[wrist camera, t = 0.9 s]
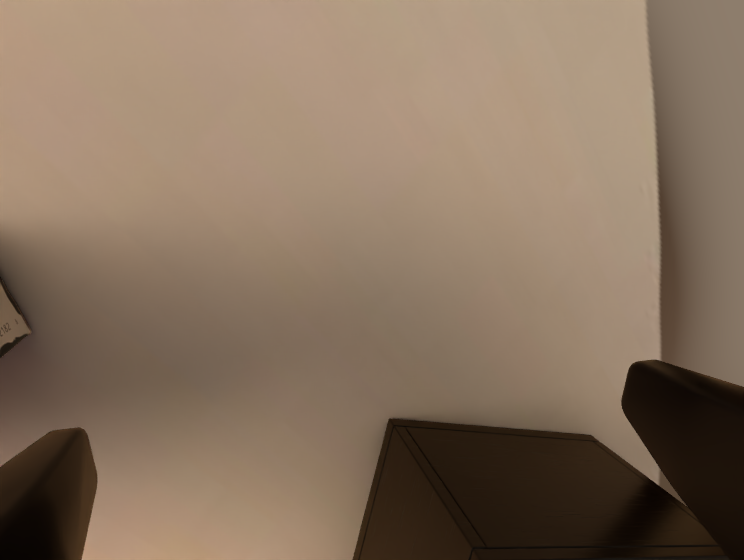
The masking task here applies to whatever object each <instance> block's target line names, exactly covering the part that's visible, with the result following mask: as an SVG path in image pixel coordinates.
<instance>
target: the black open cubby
mask: <svg viewBox="0 0 744 560" xmlns="http://www.w3.org/2000/svg"><path fill="white" fill-rule="evenodd" d="M353 560H729V558H728V557H727V556H726V555H725V553H724V552H723V551H722V550H721V548H720V547H719V546H718V544H717V543H716V542H715V541H714V539H713V538H712V537H711V536H710V534H709V533H708V532H707V531H706V529H705V528H704V527H703V525H702V524H701V523H700V522H699V520H698V519H697V518H696V517H695V515H694V514H693V513H692V512H691V510H690V509H689V508H688V507H687V506H685V505H684V504H683V503H681V502H680V501H678V500H677V499H676V498H675V497H673V496H672V495H671V494H669V493H668V492H666V491H665V490H664V489H663V488H661V487H660V486H658V485H657V484H656V483H654V482H653V481H652V480H650V479H649V478H648V477H646V476H645V475H644V474H642V473H641V472H640V471H638V470H637V469H636V468H634V467H633V466H632V465H630V464H629V463H628V462H626V461H625V460H624V459H622V458H621V457H620V456H618V455H617V454H616V453H614V452H613V451H612V450H610V449H609V448H608V447H606V446H605V445H604V444H602V443H601V442H599V441H598V440H597V439H595V438H594V437H593V436H591V435H584V434H571V433H559V432H547V431H535V430H523V429H511V428H499V427H487V426H475V425H463V424H451V423H439V422H427V421H415V420H403V419H391V418H390V419H389V420H388V424H387V428H386V432H385V436H384V440H383V444H382V448H381V452H380V455H379V459H378V463H377V467H376V471H375V475H374V479H373V483H372V486H371V490H370V494H369V498H368V502H367V506H366V510H365V514H364V517H363V521H362V525H361V529H360V533H359V537H358V541H357V545H356V549H355V552H354V556H353Z"/></svg>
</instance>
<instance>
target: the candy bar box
mask: <svg viewBox="0 0 744 560" xmlns="http://www.w3.org/2000/svg"><path fill="white" fill-rule="evenodd" d="M30 334H31V329H30V327H29V326H28V324H27V322H26V320H25V318H24V316H23V315H22V313H21V311H20V309H19V308H18V306H17V304H16V302H15V301H14V299H13V298H12V297H11V295H10V294H9V292H8V290H7V288H6V286H5V284H4V283H3V281H2V279H1V277H0V358H1V357H2V356H4V355H5V354H6V353H7V352H8V351H10V350H11V349H12V348H13V347H14V346H15V345H16V344H18V343H19V342H20V341H21V340H22V339H23V338H25V337H26V336H28V335H30Z"/></svg>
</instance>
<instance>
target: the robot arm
mask: <svg viewBox="0 0 744 560" xmlns="http://www.w3.org/2000/svg"><path fill="white" fill-rule="evenodd" d="M621 405H622V409H623V412H624V414H625V416H626V417H627V419H628V420H629V422H630V423H631V425H632V427H633V428H634V430H635V431H636V433H637V434H638V436H639V437H640V439H641V440H642V442H643V443H644V445H645V446H646V448H647V449H648V451H649V452H650V454H651V455H652V457H653V458H654V460H655V461H656V463H657V464H658V466H659V468H660V469H661V471H662V472H663V474H664V475H665V476H666V478H667V479H668V481H669V482H670V484H671V485H672V487H673V488H674V489H675V491H676V492H677V493H678V495H679V496H680V497H681V499H682V500H683V501H684V502H685V504H686V505H687V506H688V508H689V509H690V510H691V512H692V513H693V514H694V515H695V517H696V518H697V519H698V520H699V522H700V523H701V524H702V525H703V527H704V528H705V529H706V531H707V532H708V533H709V534H710V536H711V537H712V538H713V539H714V541H715V542H716V543H717V544H718V546H719V547H720V548H721V550H722V551H723V552H724V553H725V555H726V556H727V557H728V558H729V560H744V387H742V386H739V385H735V384H732V383H729V382H726V381H722V380H719V379H716V378H713V377H710V376H707V375H703V374H700V373H697V372H694V371H691V370H687V369H684V368H681V367H678V366H675V365H672V364H668V363H665V362H662V361H659V360H646V361H637V362H635V363H633V364H632V365H631V366H630V367H629V370H628V374H627V378H626V382H625V387H624V391H623V395H622V400H621ZM96 489H97V471H96V467H95V463H94V459H93V455H92V451H91V447H90V443H89V439H88V435H87V433H86V432H85V430H84V429H82V428H80V427H78V428H69V429H60V430H53V431H50V432H49V433H47V434H46V435H44V436H43V437H41V438H40V439H39V440H37V441H36V442H34V443H33V444H32V445H30V446H29V447H27V448H26V449H25V450H23V451H22V452H20V453H19V454H18V455H16V456H15V457H13V458H12V459H11V460H9V461H8V462H6V463H5V464H4V465H2V466H1V467H0V560H82V555H83V550H84V546H85V541H86V536H87V531H88V527H89V522H90V517H91V513H92V508H93V503H94V499H95V494H96Z"/></svg>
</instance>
